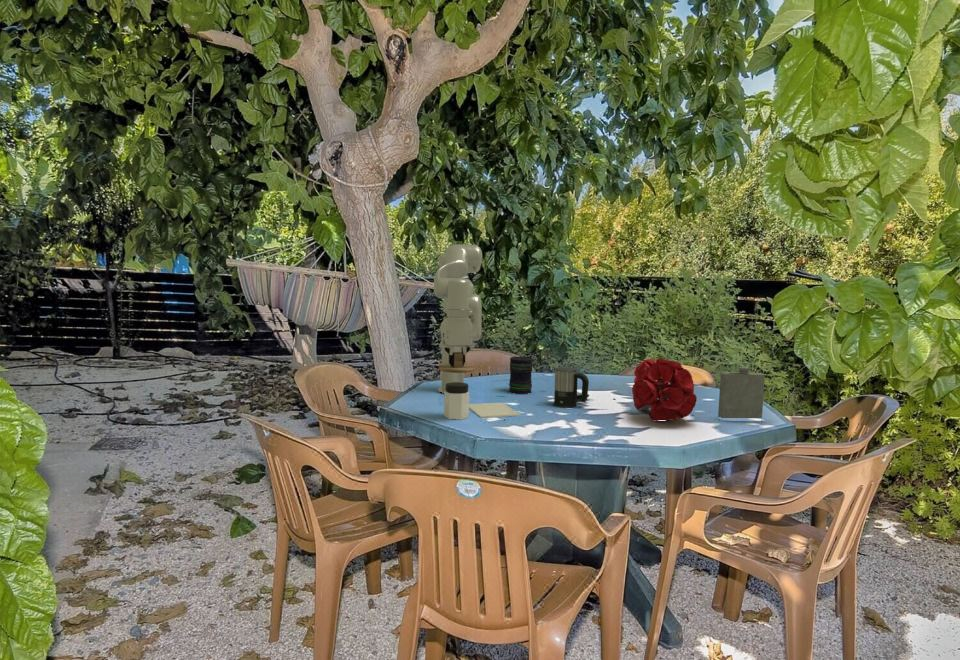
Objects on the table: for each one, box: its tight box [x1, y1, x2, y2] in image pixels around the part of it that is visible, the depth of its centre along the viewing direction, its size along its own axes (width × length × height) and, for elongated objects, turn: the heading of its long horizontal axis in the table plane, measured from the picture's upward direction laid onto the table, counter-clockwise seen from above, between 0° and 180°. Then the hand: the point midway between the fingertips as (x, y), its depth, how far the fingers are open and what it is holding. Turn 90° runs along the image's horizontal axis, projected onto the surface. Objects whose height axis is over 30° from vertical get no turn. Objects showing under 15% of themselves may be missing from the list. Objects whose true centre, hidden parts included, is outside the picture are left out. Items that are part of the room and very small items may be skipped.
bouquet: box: [631, 357, 698, 421], centre depth 226 cm, size 22×24×30 cm
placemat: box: [469, 402, 521, 419], centre depth 232 cm, size 20×15×1 cm
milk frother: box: [553, 366, 590, 408], centre depth 247 cm, size 14×16×15 cm
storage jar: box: [508, 356, 533, 395], centre depth 268 cm, size 10×10×15 cm
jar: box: [443, 382, 470, 421], centre depth 221 cm, size 9×8×12 cm
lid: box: [438, 352, 476, 374], centre depth 219 cm, size 13×13×6 cm
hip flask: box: [717, 366, 766, 419], centre depth 225 cm, size 16×4×20 cm, turn 91°
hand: (456, 365), depth 219 cm, fingers closed on lid, 3 cm apart
